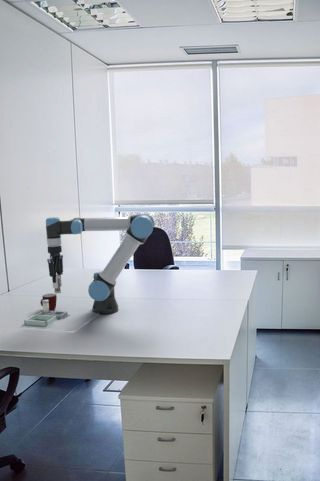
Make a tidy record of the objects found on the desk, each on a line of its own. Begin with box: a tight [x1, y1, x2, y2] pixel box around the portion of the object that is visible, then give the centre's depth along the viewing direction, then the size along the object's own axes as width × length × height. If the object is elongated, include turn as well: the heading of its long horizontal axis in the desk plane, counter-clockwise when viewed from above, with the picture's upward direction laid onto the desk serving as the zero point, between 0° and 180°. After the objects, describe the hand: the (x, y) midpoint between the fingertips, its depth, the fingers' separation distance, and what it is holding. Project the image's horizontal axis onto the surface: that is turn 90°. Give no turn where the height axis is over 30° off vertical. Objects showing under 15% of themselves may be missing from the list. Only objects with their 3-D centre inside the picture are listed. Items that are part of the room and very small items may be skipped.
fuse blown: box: [54, 276, 62, 294], centre depth 264 cm, size 4×4×9 cm
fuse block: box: [37, 310, 71, 320], centre depth 268 cm, size 18×8×3 cm, turn 73°
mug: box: [40, 293, 58, 311], centre depth 281 cm, size 10×8×10 cm
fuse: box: [41, 299, 49, 314], centre depth 269 cm, size 4×4×9 cm
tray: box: [23, 314, 58, 327], centre depth 258 cm, size 14×11×3 cm
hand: (57, 287), depth 265 cm, fingers closed on fuse blown, 3 cm apart
